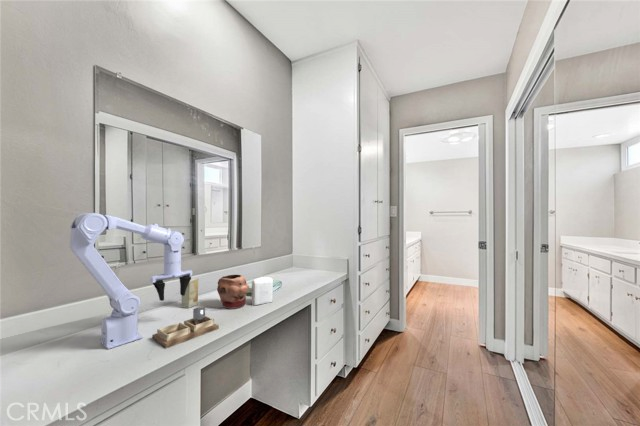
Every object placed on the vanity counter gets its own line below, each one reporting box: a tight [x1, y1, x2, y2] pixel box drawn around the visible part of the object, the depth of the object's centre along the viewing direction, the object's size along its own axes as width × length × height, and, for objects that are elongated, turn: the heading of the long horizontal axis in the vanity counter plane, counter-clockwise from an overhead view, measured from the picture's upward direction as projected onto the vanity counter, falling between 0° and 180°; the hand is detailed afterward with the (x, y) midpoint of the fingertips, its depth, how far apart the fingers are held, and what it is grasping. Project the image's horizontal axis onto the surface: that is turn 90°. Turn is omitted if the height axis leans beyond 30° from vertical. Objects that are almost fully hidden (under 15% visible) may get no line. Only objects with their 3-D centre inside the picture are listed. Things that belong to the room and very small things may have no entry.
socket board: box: [151, 315, 220, 349], centre depth 92 cm, size 18×11×3 cm, turn 143°
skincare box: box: [180, 277, 199, 309], centre depth 121 cm, size 6×4×12 cm
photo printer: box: [251, 276, 274, 306], centre depth 125 cm, size 10×4×12 cm, turn 126°
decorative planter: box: [216, 274, 249, 309], centre depth 121 cm, size 20×12×14 cm, turn 62°
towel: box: [245, 280, 283, 297], centre depth 145 cm, size 18×21×5 cm
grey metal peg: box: [192, 306, 206, 325], centre depth 96 cm, size 4×4×6 cm
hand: (172, 297), depth 99 cm, fingers open, 7 cm apart
